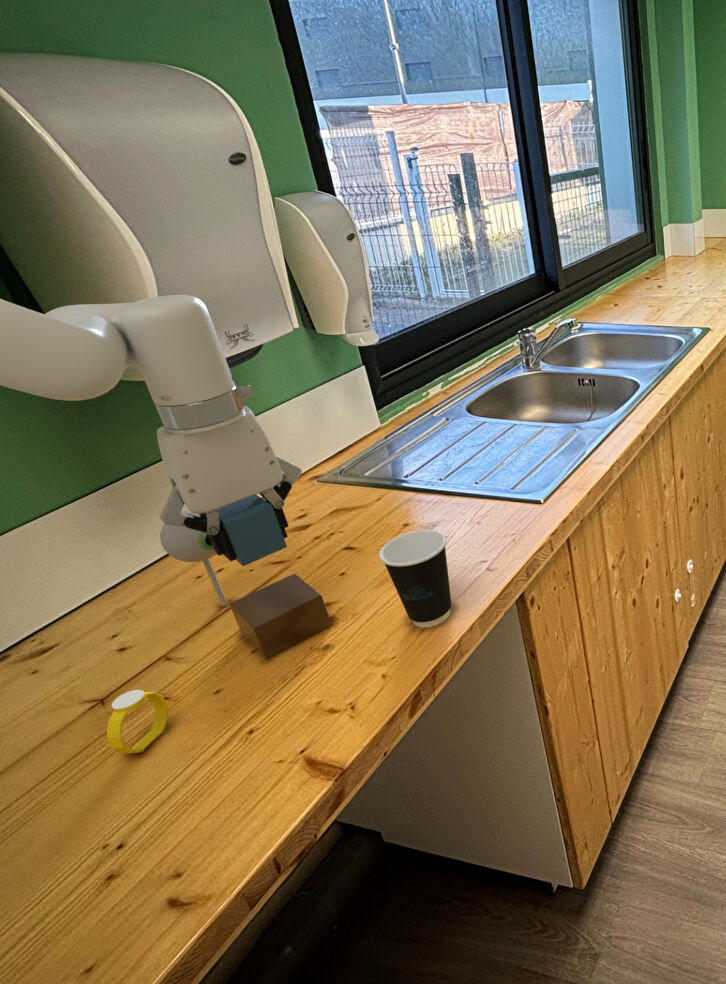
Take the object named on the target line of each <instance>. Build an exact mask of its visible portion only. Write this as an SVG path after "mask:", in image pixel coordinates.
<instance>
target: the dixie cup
mask: <svg viewBox="0 0 726 984" xmlns="http://www.w3.org/2000/svg"><path fill="white" fill-rule="evenodd" d="M446 545H447V537H446V536H445V534H444V533H443V532H441V531H438V530H434V529H416V530H412V531H409V532H404V533H402V534H399V535H397V536H395V537H393V538H392V539H390V540H388V541H387V542H386V543H385V544H384V545H383V546H382V547H381V548H380V550H379V554H378V556H379V560H380V561H381V562H382V563H383V564H384V566H385V568H386V570H387V572H388V574H389V576H390V579H391V581H392V583H393V585H394V588H395V590H396V592H397V594H398V597H399V599H400V602H401V603H402V605H403V608H404V609H405V612H406V614H407V617H408V618H409V619H410V620H411V621H412V623H413V625H415V626H416V627H419V628H430V627H434V626H437V625H439V624H441V623H444V621H446V620H447V619H448V618H449V616H450V615H451V607H452V597H451V587H450V579H449V577H450V576H449V569H448V562H447V551H446Z"/></svg>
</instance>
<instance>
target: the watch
mask: <svg viewBox="0 0 726 984" xmlns="http://www.w3.org/2000/svg"><path fill="white" fill-rule="evenodd" d="M147 699H149V700H150V701H151V703H152V705H153V707H154V720H153V722H152V725H151V728H150V730H149V731H148V732H147V733H146V734H145V735H144V736H143V737H142V738H141V739H140V740H139V741H137V742H136V743H135V744H134V745H133V746H131V747H130V746H128V745H127V744H125V740H124V738H123V735H122V733H123V726H124V720H125V719H126V716H127V715H128V713H129V712H132V711H135V710H136V709H138V708H140V707H141V706H142V705H143V704H144V703H146V700H147ZM111 708H112V710H113V712H112V714H111V716H110V717H109V721H108V724H107V731H106V738H107V741H108V744H109V747H110V748H111V749H112V750H113V751H115V752H117V753H119V754H139V753H142V752H145V750H146V749H147V747H148V746H150V745H151V744H152V743H153V742H154V741H155V740H156V739H157V738H158V737H159V736H160V735H161V734H163V733H164V732H165V728H166V726H167V724H168V719H169V705H168V703H167V701H166V699H165V697H164V696H163V695H162V694H159V693H158V692H155V691H144V690H142V689H134V690H130V691H127V692H125V693H123V694H121V695H119V696H117V697H116V698H115V699H114V700H113V701H112V703H111Z"/></svg>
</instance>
